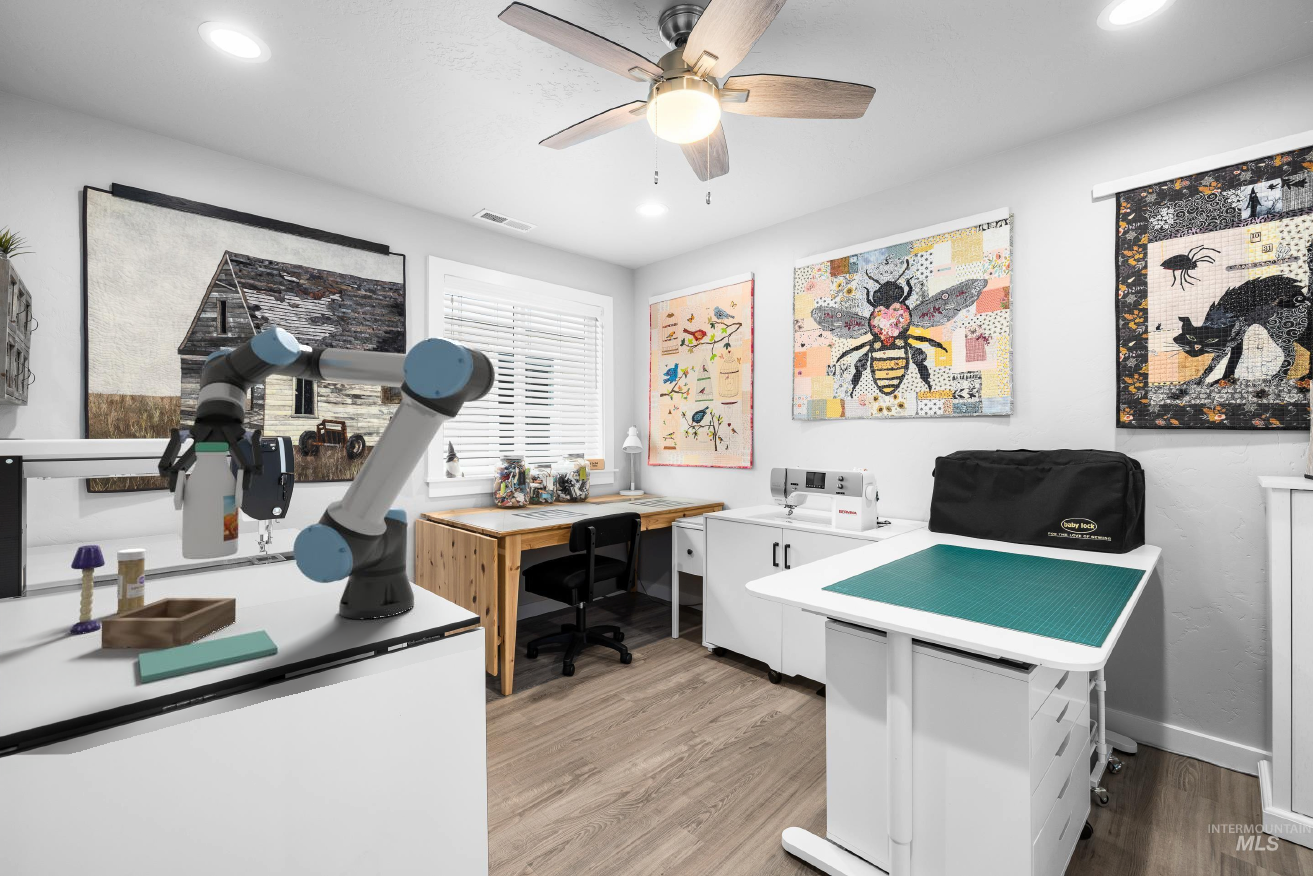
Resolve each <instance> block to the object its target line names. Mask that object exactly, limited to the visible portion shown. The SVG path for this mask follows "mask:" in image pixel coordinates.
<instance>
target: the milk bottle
mask: <svg viewBox="0 0 1313 876" xmlns="http://www.w3.org/2000/svg"><path fill="white" fill-rule="evenodd" d="M228 449H229V446H228V443H219V442H202V443H196V445H195V451H196V454H195V455H196V456H197V461H196V462H195V463H194V467H193V469H192V471H191V472H190V475H189V476H188V478H187V479H186V484H185V488H184V496H183V504H182V528H181V529H182V540H181V541H182V542H181V545H182V547H181V550H182V557H183V558H184V559H186V560H208V559H217V558H218V559H219V558H223V557H228V556H232V555H235V554H237V553H238V550H239V508H240V507H237V508H236V501H235V494H236V485H237V479H236V478H235V476H234V474H233V471H231V468H230V466H229V463H228V459H227V456H228V455H229V451H228Z"/></svg>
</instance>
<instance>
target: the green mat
mask: <svg viewBox="0 0 1313 876" xmlns="http://www.w3.org/2000/svg"><path fill="white" fill-rule="evenodd" d="M278 648H279V647H278V646H277V645H276V643H275V642H274V640H273V639H272V638H271V637H270V635H268V633H267V632H266V630H265V629H263V630H258V631H253V632H248V633H244V634H237V635H231V636H227V637H223V638H217V639H212V640H207V641H206V640H205V641H201V642H196V643H195V642H194V643H190V644H188V645H185V646H180V647H175V648H163V649H160V650H159V649H158V650H154V651H150V652H145V653H139V654H138V663H139V664H138V665H139V672H140V679H141V684H143V683H147V682H148V683H149V682H152V681H157V680H162V679H166V678H170V677H175V676H179V675H184V674H188V673H193V672H197V671H202V670H207V669H211V668H216V667H220V666H225V665H229V664H235V663H238V662H239V663H240V662H243V661H244V662H245V661H247V660H252V659H256V658H262V657H266V656H269V654H271V655H273V654H272V653H275V654H277V653H278ZM276 652H277V653H276ZM265 655H266V656H265Z"/></svg>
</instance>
